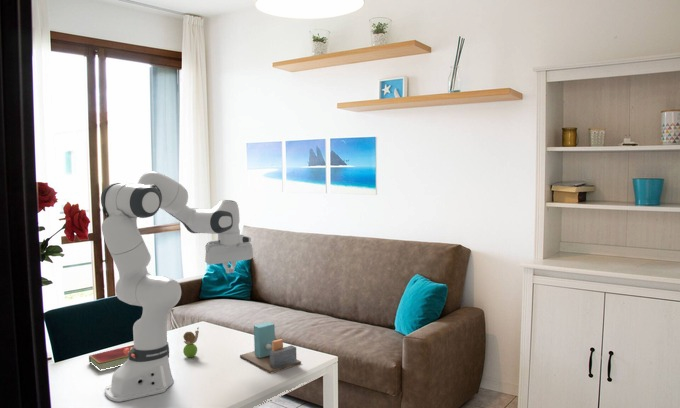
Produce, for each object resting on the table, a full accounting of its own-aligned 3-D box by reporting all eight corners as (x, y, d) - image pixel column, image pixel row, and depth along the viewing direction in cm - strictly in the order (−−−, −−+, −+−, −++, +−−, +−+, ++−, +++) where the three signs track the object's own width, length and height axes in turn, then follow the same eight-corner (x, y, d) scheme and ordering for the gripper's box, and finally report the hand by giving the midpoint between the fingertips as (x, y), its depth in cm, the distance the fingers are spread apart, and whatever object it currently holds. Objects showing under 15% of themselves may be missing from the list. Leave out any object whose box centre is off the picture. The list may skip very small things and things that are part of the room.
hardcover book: (89, 365, 208) (88, 354, 208) (142, 351, 222) (141, 341, 222) (99, 373, 199) (99, 362, 199) (154, 359, 213) (153, 348, 213)
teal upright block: (262, 359, 205) (261, 328, 205) (254, 355, 210) (253, 325, 209) (277, 354, 210) (276, 325, 209) (269, 351, 214) (268, 322, 213)
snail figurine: (197, 359, 211) (196, 329, 210) (181, 359, 211) (180, 329, 210) (201, 354, 216) (200, 325, 215) (186, 354, 216) (184, 325, 215)
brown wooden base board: (269, 373, 195) (269, 370, 195) (240, 357, 212) (239, 354, 212) (300, 363, 204) (300, 360, 204) (269, 349, 221) (269, 346, 221)
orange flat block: (274, 363, 201) (274, 342, 201) (272, 361, 203) (271, 341, 202) (293, 357, 207) (293, 337, 206) (291, 356, 208) (290, 336, 208)
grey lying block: (274, 369, 196) (274, 353, 196) (270, 367, 198) (269, 351, 198) (296, 362, 203) (296, 347, 202) (292, 360, 205) (291, 345, 204)
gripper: (209, 242, 208) (210, 277, 209) (254, 237, 221) (255, 270, 222) (201, 241, 213) (203, 275, 214) (246, 236, 226) (247, 268, 227)
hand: (229, 272), depth 218 cm, fingers closed
